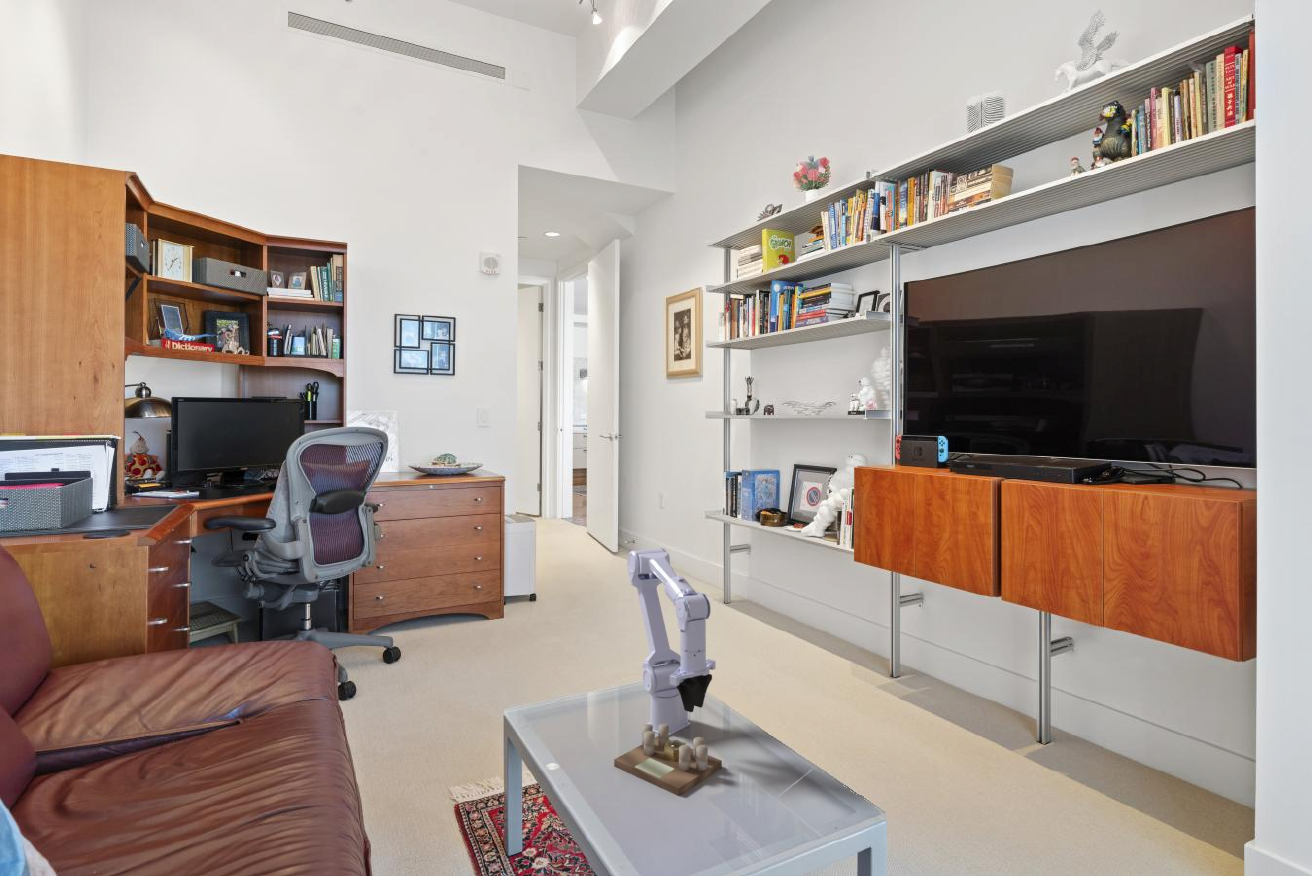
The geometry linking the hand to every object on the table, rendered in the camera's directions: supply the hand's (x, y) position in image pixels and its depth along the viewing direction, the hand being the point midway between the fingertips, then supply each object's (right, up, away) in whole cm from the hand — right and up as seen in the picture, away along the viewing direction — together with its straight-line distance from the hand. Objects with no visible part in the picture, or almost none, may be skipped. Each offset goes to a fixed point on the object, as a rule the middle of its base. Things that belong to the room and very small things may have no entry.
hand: (693, 708), depth 158 cm
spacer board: (-6, -11, -6) cm, 13 cm away
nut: (-4, -9, -4) cm, 11 cm away
